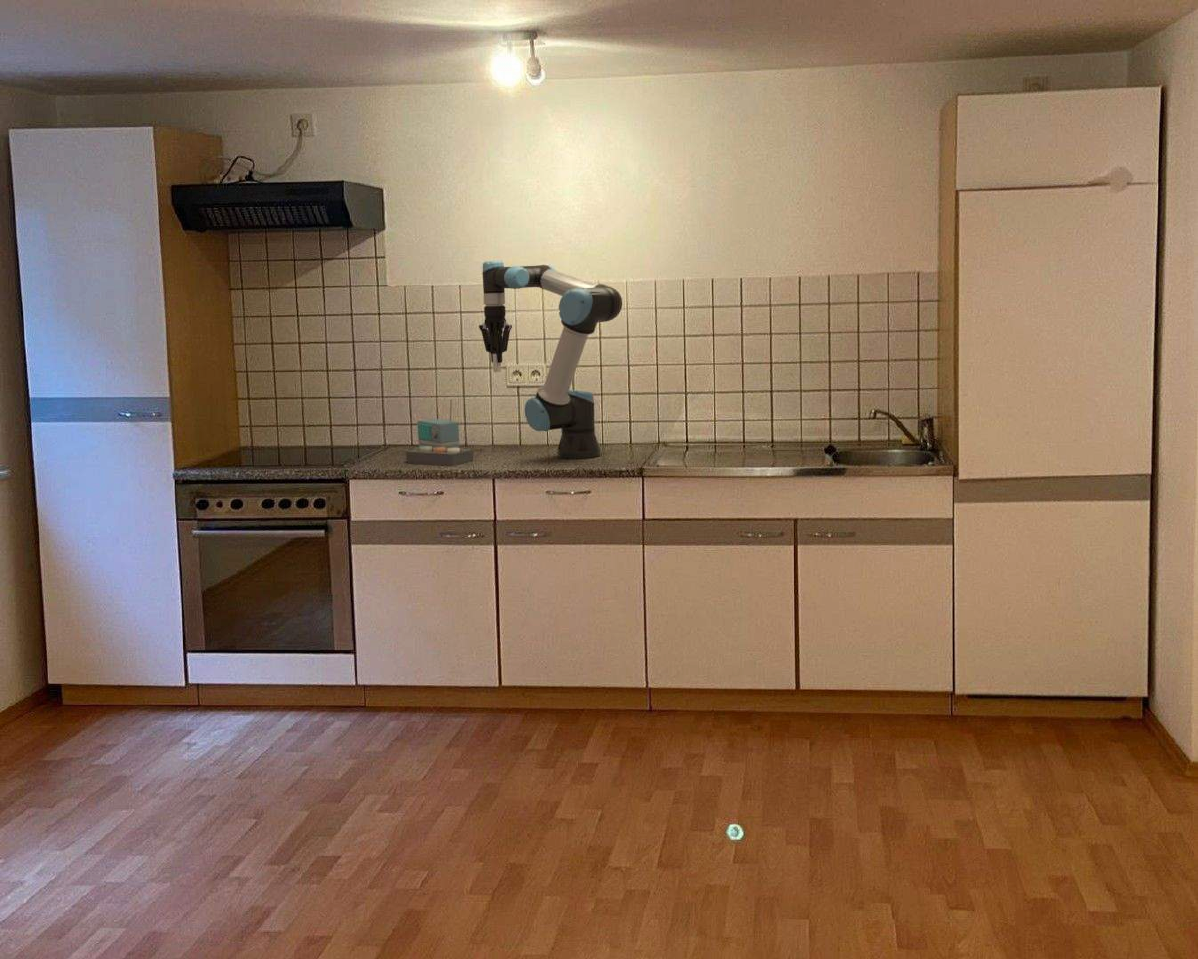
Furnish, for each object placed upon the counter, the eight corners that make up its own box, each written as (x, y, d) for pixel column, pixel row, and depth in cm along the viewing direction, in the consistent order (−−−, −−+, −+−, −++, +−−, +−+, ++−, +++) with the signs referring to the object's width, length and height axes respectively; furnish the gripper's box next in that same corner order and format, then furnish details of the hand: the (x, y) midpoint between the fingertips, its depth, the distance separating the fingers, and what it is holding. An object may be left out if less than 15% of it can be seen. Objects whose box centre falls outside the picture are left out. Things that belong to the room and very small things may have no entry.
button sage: (434, 453, 515) (434, 446, 514) (427, 455, 511) (426, 447, 511) (424, 452, 517) (424, 445, 517) (417, 454, 513) (416, 447, 513)
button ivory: (462, 455, 509) (462, 447, 508) (455, 456, 505) (454, 449, 504) (452, 454, 511) (452, 447, 510) (444, 456, 507) (444, 449, 507)
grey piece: (473, 460, 511) (473, 449, 511) (452, 465, 501) (452, 454, 500) (427, 457, 521) (427, 446, 521) (406, 462, 511) (406, 451, 511)
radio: (416, 453, 535) (413, 398, 532) (437, 450, 540) (434, 396, 537) (438, 457, 523) (436, 401, 519) (460, 454, 528) (457, 399, 525)
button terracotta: (448, 454, 512) (448, 447, 511) (441, 455, 508) (440, 448, 508) (438, 453, 514) (438, 446, 513) (430, 455, 510) (430, 448, 510)
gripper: (515, 304, 518) (518, 371, 522) (485, 304, 525) (488, 370, 529) (503, 305, 512) (506, 373, 516) (473, 305, 519) (476, 372, 522)
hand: (497, 371), depth 522 cm, fingers closed
